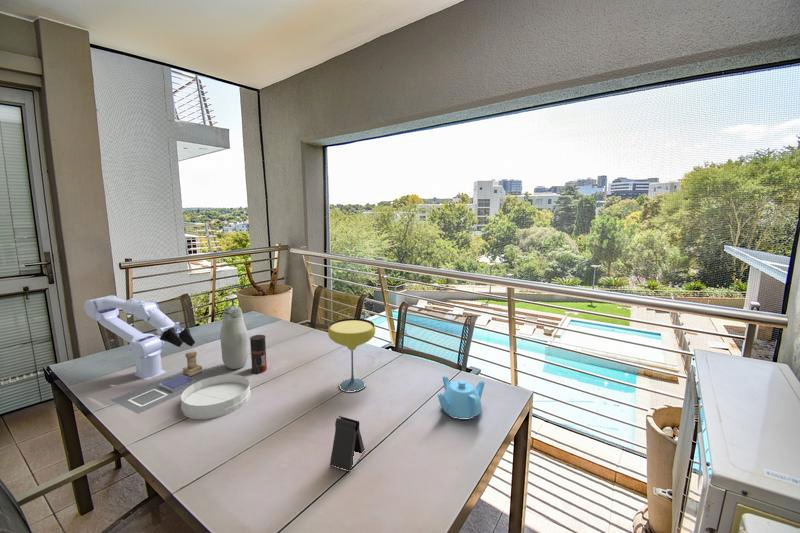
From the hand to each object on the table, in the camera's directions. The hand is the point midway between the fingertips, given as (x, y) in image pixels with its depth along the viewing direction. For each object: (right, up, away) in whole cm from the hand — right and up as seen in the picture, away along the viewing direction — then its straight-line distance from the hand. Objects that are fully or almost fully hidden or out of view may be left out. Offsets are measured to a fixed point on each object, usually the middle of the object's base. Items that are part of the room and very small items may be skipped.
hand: (187, 344), depth 134 cm
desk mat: (-5, -16, -3) cm, 17 cm away
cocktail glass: (+65, -17, +1) cm, 67 cm away
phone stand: (+69, -23, -39) cm, 83 cm away
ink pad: (-3, -16, -1) cm, 16 cm away
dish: (+18, -19, -11) cm, 28 cm away
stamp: (-3, -14, +8) cm, 17 cm away
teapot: (+105, -20, -14) cm, 108 cm away
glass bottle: (+12, -14, +15) cm, 24 cm away
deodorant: (+23, -14, +13) cm, 30 cm away
